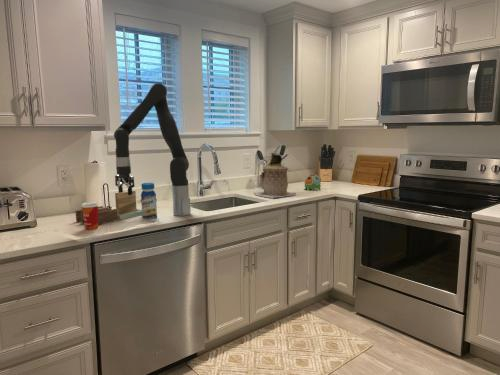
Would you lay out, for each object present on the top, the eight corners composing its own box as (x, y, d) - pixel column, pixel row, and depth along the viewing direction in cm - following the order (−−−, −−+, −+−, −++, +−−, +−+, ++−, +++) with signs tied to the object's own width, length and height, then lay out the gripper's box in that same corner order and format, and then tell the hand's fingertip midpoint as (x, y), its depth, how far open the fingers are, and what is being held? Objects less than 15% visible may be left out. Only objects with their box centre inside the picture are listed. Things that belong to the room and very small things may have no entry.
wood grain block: (136, 215, 214) (135, 191, 212) (119, 218, 206) (118, 193, 203) (133, 214, 216) (132, 190, 214) (116, 218, 207) (115, 193, 205)
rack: (118, 222, 200) (117, 209, 199) (91, 228, 188) (90, 214, 187) (102, 219, 209) (101, 206, 208) (76, 224, 197) (75, 210, 196)
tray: (145, 216, 213) (144, 210, 213) (120, 222, 201) (120, 215, 200) (132, 214, 221) (132, 207, 220) (108, 219, 208) (107, 212, 208)
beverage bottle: (159, 217, 211) (158, 182, 208) (153, 220, 203) (151, 184, 200) (145, 217, 213) (143, 182, 210) (139, 220, 205) (136, 184, 202)
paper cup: (81, 230, 184) (79, 203, 182) (98, 228, 189) (96, 201, 187) (85, 234, 178) (83, 205, 176) (102, 231, 182) (100, 203, 180)
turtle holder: (326, 188, 306) (327, 174, 305) (314, 191, 294) (314, 176, 292) (314, 187, 315) (314, 173, 313) (301, 190, 302) (301, 175, 300)
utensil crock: (298, 195, 276) (298, 152, 271) (271, 199, 262) (271, 153, 257) (277, 191, 296) (276, 150, 291) (251, 194, 282) (250, 152, 277)
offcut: (107, 219, 201) (106, 207, 200) (90, 223, 193) (89, 211, 192) (105, 219, 202) (104, 207, 202) (87, 222, 195) (86, 210, 194)
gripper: (137, 165, 205) (139, 194, 207) (121, 164, 213) (123, 192, 216) (125, 166, 199) (127, 196, 201) (109, 165, 208) (112, 194, 210)
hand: (125, 194), depth 209 cm, fingers open, 8 cm apart
